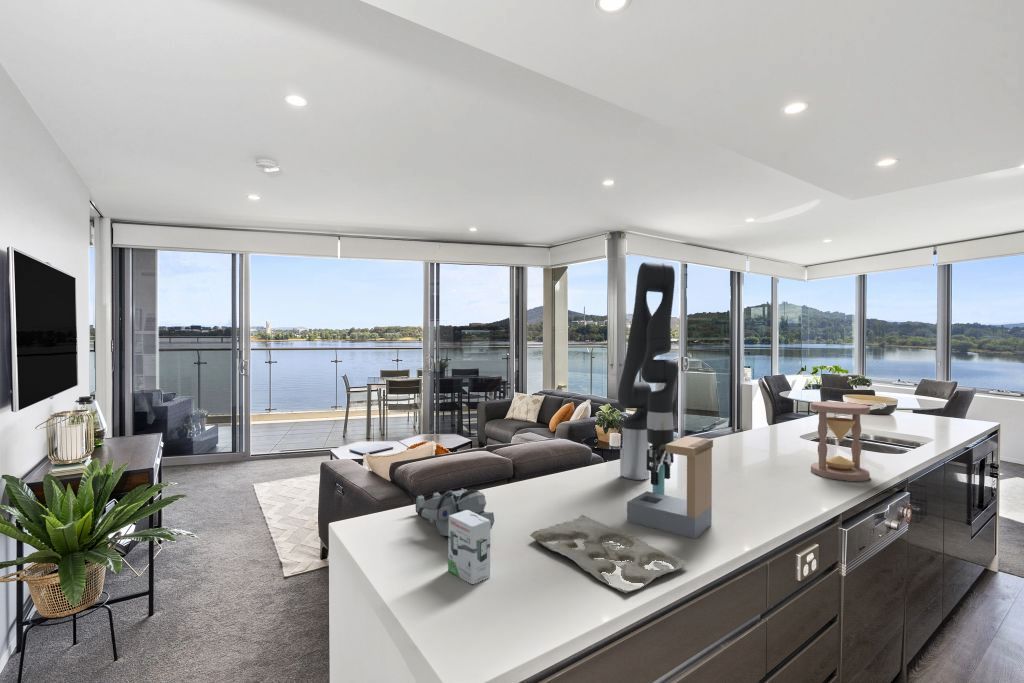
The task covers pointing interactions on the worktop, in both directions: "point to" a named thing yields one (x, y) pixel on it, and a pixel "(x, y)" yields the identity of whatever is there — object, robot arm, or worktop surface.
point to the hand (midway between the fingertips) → (660, 481)
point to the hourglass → (840, 426)
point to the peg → (660, 481)
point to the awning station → (675, 511)
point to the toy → (452, 507)
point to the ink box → (469, 546)
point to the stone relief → (605, 550)
